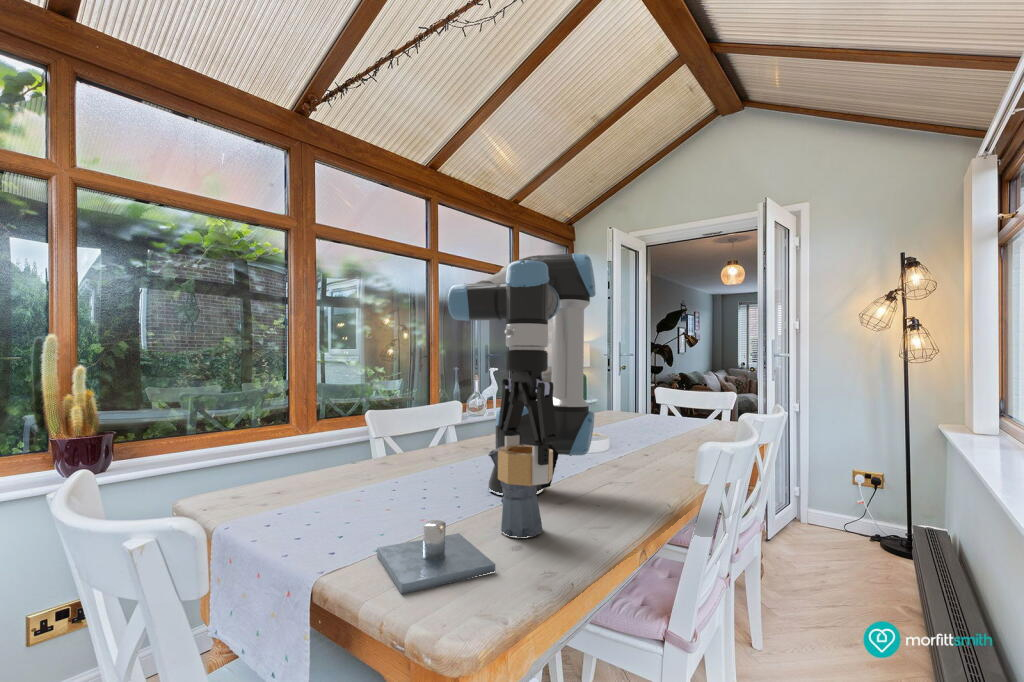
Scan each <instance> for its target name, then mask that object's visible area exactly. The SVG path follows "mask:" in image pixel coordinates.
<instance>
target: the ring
mask: <svg viewBox="0 0 1024 682" xmlns="http://www.w3.org/2000/svg"><path fill="white" fill-rule="evenodd" d="M553 478H554V474H553V450H552V449H549V463H548V483H549V482H550V481H551V480H552V481H553ZM498 479H499V480H501V481H503V482H505V483H507V484H513V485H524V486H533V484H532V446H531V445H515V446H504V447H503V448H501V449H499V450H498ZM548 483H546V484H548ZM539 485H540V484H539Z"/></svg>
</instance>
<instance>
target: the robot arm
mask: <svg viewBox="0 0 1024 682" xmlns="http://www.w3.org/2000/svg"><path fill="white" fill-rule="evenodd" d="M594 275H595V274H594V269H593V262H592V259H591V257H590V256H589V255H588V254H586V253H573V252H572V253H562V254H561V253H560V254H546V255H545V254H544V255H540V254H539V255H537V254H536V255H532V256H531V255H530V256H526V257H523V258H520V259H518V260H514V261H512V262H509V263H508V264H506V265H504V266H503V267H502V268H501V269H500V271H499V272H497V273H494V274H493V275H491V276H488V277H486V278H484V279H481V280H479V281H477V282H475V283H466V282H464V283H462V284H461V283H459V284H454V285H452V286H451V287H450V289H449V291H448V294H447V307H448V308H447V309H448V312H449V314H450V317H451V318H452V319H453V320H456V321H467V322H470V321H472V322H473V321H505V330H504V334H505V346H506V347H507V348H508V349H509V350H508V349H507V350H506V351H505V353H504V354H505V355H504V356H505V357H504V369H505V370H506V371H508V372H511V377H510V378H503V379H502V381H501V386H502V387H501V388H502V392H501V400H500V402H501V403H500V409H498V410H497V412H496V417H495V424H494V427H495V449H498V448H499V447H503V446H515V445H519V440H520V436H521V441H520V443H521V444H526V445H531V446H532V484H533V485H537V491H539V490H541V487H540V485H539V484H546V483H548V463H549V445H550V444H551V445H552V447H553V448H555V450H556V451H557V452H558V455H562V456H563V455H564V456H569V457H572V456H582V457H583V456H585V455H587V454H588V453H589V451H590V447H591V444H592V439H593V432H594V427H595V426H594V425H595V413H594V412H593V411H592V410H589V409H590V407H589V406H590V405H589V402H587V401H586V400H585V399H584V356H585V355H584V351H585V350H584V349H585V347H584V346H585V345H584V344H585V339H584V338H585V337H584V336H585V335H584V334H585V310H586V308H587V307H588V306H589V305H590V304H591V298H594V297H595V296H596V294H597V293H596V282H595V276H594ZM551 319H552V321H551V322H552V324H551V329H552V330H551V381H550V382H549V381H544V380H543V379H544V378H543V372H547V371H548V368H549V367H548V360H549V357H548V356H549V354H548V353H549V352H548V351H547V350H545V349H546V348H547V347H548V346H549V321H550V320H551ZM489 488H490V489H491V490H493V491H495V492H499V493H503V487H502V486H501V483H500V480H499V479H498V471H497V469H496V467H495V465H494V464H493V467H492V471H491V474H490V477H489V480H488V489H489ZM542 489H543V488H542Z"/></svg>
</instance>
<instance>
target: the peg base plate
mask: <svg viewBox="0 0 1024 682" xmlns="http://www.w3.org/2000/svg"><path fill="white" fill-rule="evenodd" d="M446 524H447V523H446V521H444V520H439V519H438V520H437V519H435V520H434V519H433V520H427V521H426V522H424V523H423V535H422V537H423V538H422V539H418V540H413V541H408V542H401V543H396V544H391V545H385V546H380V547H376V549H377V551H376V557H377V558H378V560H379V561H380V563H381V564H382V566H383V567H384V569H385V571H386V572H387V574H388V575H389V577H390V578H391V580H392V582H393V583H394V584H395V587H396V588H397V589H398V591H399V592H400V594H401V595H405V594H410V593H413V592H418V591H422V590H425V589H426V590H427V589H431V588H435V587H440V586H444V585H443V584H445V585H447V584H446V583H449V584H451V583H450V582H454V583H456V582H455V581H458V582H461V581H460V580H463V579H467V580H469V579H468V578H471V579H473V578H472V577H475V576H479V575H483V574H487V573H490V572H494V571H495V572H496V563H495V562H494V561H493V560H491V559H490V558H489V557H488V556H486V554H484V553H483V552H482V551H480V550H479V549H478V548H477V547H476V546H475V545H474V544H472V543H471V542H470V541H469V540H467V539H466V538H465V537H464V536H463V535H461V534H460V533H458V532H457V533H454V534H447V535H446V528H447V527H446ZM463 581H464V580H463Z"/></svg>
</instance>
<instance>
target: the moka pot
mask: <svg viewBox="0 0 1024 682" xmlns="http://www.w3.org/2000/svg"><path fill="white" fill-rule="evenodd" d="M520 441H521V436H520V440H519V445H526V444H521V443H520ZM503 447H504V446H503ZM503 447H499V448H498V449H496V448H495V449H492V450H491V451H489V453H487V456H488V457H490V459H491V461H492V462H493V466H494V465H495V467H496V469H497V471H498V450H499V449H501V448H503ZM549 449H552V450H553V475H554V473H555V469H556V465H557V461H558V458H559V454H558V452H557V451H556V450H555V448H553V447H552V445H551V444H550V445H549ZM552 481H553V479H552V480H551V481H550V482H549V483H548V484H540V487H541V489H542V488H544V489H546V488H550V487H551V484H552ZM500 483H501V486H502V487H503V495H504V496H502V497H501V500H500V501H501V503H502V510H501V512H502V514H501V523H500V524H501V525H500V527H501V528H500V532H501V531H502V532H504V533H505V534H507V535H509V536H517V537H527V536H534V537H536V536H535V535H537V534H539V533H540V532H541V533H543V524H542V517H541V512H540V505H539V500H538V495H537V494H536V493H537V485H533V486H524V485H513V484H507V483H505V482H503V481H501V480H500ZM541 533H540V534H541ZM540 534H539V535H540ZM537 536H538V535H537Z"/></svg>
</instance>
